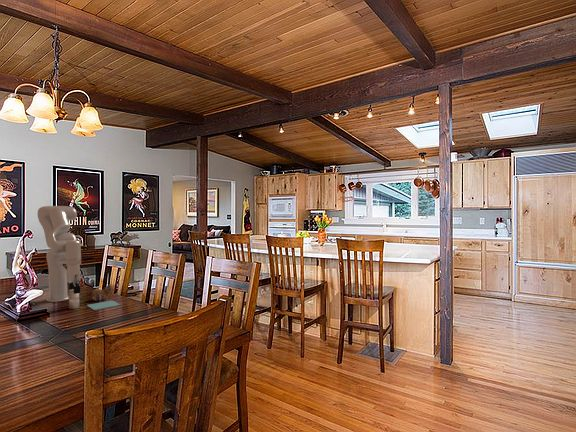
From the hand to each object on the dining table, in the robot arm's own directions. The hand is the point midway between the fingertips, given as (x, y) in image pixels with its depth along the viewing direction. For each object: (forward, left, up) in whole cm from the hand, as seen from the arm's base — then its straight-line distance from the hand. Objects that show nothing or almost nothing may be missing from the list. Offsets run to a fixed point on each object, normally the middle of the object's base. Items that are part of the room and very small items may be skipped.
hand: (74, 292), depth 198 cm
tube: (-1, 0, -9) cm, 9 cm away
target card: (+7, +13, -9) cm, 17 cm away
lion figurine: (-8, +17, -9) cm, 21 cm away
